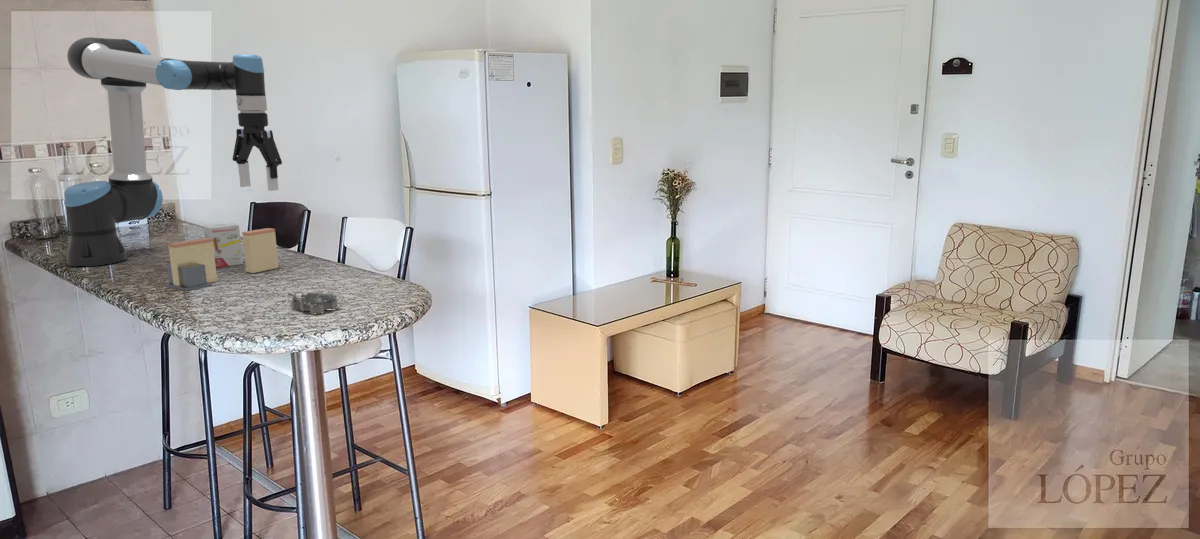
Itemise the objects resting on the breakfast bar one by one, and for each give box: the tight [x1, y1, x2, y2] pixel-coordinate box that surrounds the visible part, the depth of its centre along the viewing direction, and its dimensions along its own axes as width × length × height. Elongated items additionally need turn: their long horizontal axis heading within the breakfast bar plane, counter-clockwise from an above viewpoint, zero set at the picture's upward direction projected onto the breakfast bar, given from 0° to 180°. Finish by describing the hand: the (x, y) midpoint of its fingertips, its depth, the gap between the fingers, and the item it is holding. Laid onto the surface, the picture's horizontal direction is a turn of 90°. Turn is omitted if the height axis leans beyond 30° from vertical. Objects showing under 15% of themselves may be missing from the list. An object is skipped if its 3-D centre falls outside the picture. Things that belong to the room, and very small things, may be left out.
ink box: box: [203, 222, 244, 269], centre depth 227 cm, size 9×5×12 cm, turn 130°
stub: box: [242, 227, 279, 274], centre depth 219 cm, size 3×8×11 cm, turn 146°
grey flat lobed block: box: [287, 290, 339, 314], centre depth 180 cm, size 11×8×4 cm
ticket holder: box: [163, 237, 218, 292], centre depth 203 cm, size 10×10×11 cm
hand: (259, 188), depth 222 cm, fingers open, 13 cm apart
